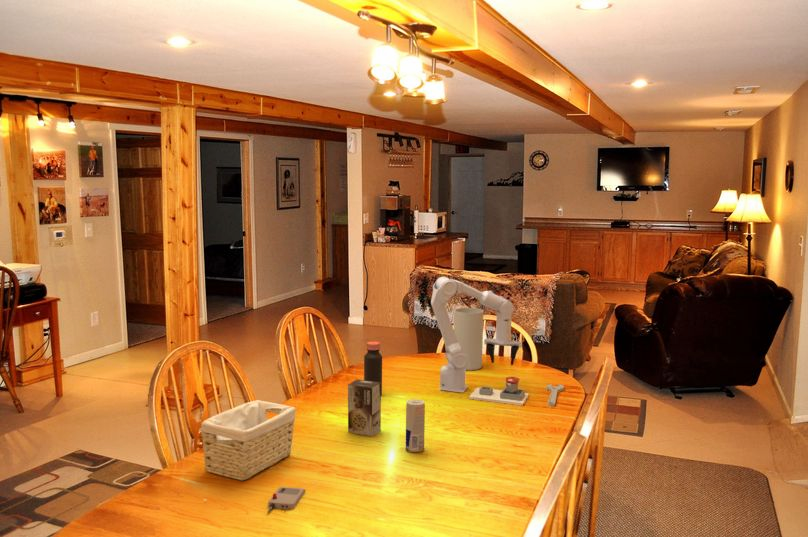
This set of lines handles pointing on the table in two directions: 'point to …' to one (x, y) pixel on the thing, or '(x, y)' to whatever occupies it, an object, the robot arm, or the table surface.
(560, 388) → the adjustable wrench
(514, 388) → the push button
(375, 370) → the bottle
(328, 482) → the table surface
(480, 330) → the cylinder vase
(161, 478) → the table surface
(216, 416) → the storage basket
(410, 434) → the beverage can
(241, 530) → the table surface
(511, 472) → the table surface
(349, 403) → the coffee box
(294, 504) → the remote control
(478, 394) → the socket board
